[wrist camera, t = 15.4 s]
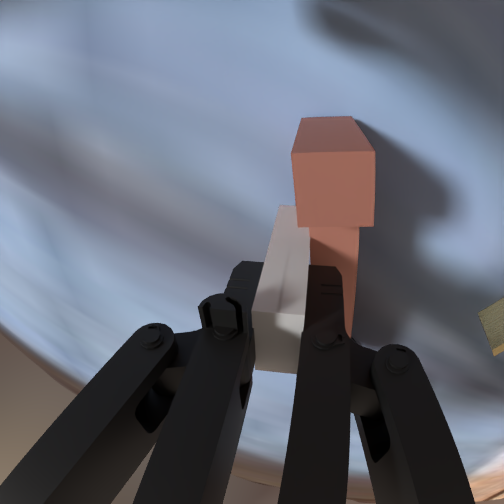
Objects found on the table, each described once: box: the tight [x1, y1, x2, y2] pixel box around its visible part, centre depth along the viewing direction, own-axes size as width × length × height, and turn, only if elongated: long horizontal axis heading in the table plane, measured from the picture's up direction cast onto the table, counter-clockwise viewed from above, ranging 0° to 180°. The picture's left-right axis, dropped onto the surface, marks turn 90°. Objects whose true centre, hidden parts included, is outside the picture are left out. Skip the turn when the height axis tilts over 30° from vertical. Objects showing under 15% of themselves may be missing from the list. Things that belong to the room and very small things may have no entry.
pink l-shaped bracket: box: [291, 116, 375, 338], centre depth 13 cm, size 2×13×6 cm, turn 8°
